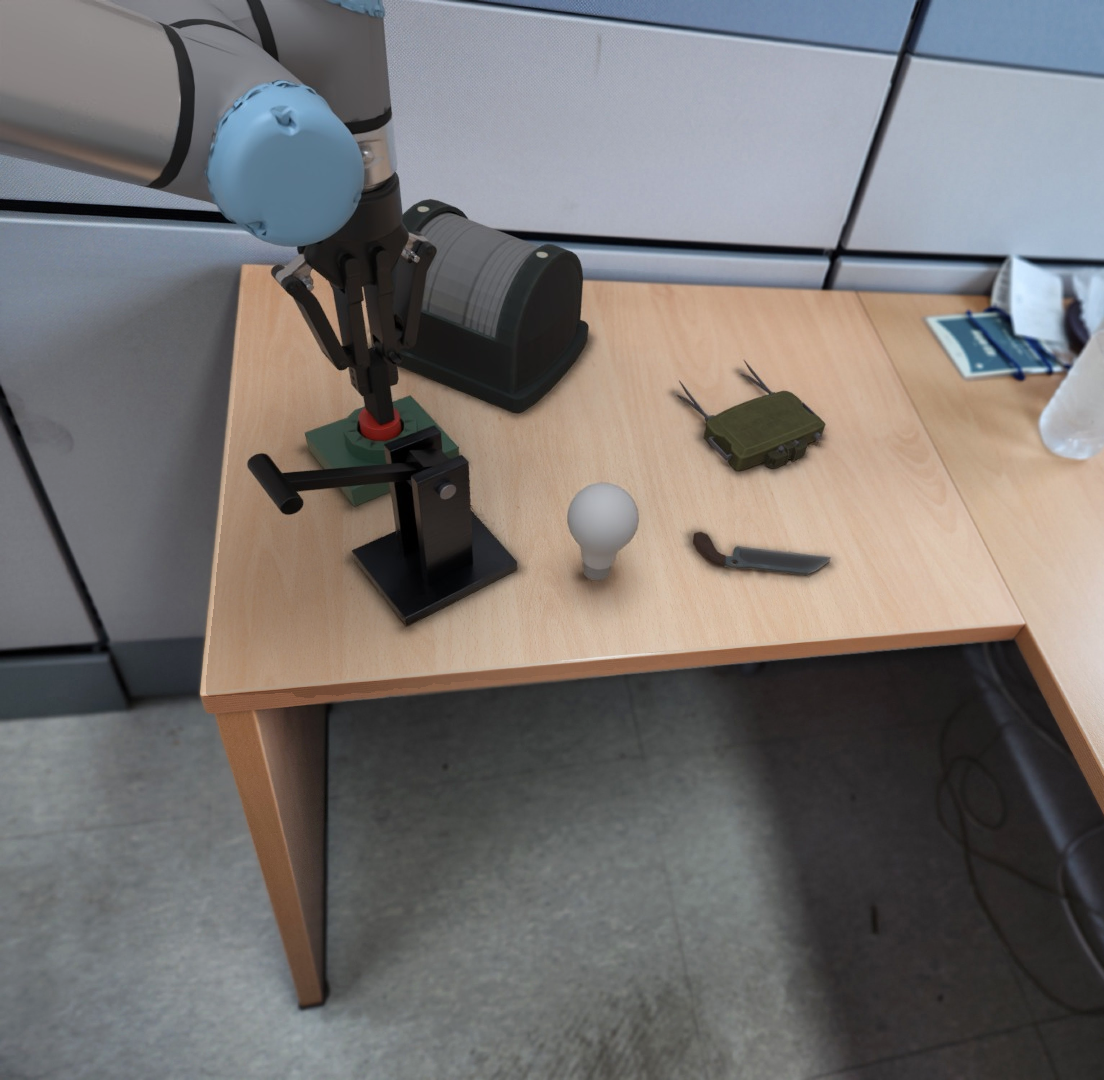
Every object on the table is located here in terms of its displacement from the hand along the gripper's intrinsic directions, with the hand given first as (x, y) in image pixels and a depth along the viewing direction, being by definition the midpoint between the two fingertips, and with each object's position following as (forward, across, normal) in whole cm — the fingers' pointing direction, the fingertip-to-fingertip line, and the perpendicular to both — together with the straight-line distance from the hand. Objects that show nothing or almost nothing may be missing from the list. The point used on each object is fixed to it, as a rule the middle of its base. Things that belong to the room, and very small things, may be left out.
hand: (380, 413), depth 80 cm
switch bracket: (+5, -3, -14) cm, 16 cm away
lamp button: (+2, 0, 0) cm, 2 cm away
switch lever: (-8, -9, -14) cm, 19 cm away
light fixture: (+6, +18, +10) cm, 22 cm away
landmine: (+6, +36, -16) cm, 40 cm away
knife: (+6, +23, -31) cm, 39 cm away
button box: (+6, 0, 0) cm, 6 cm away
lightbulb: (+6, +8, -24) cm, 25 cm away
